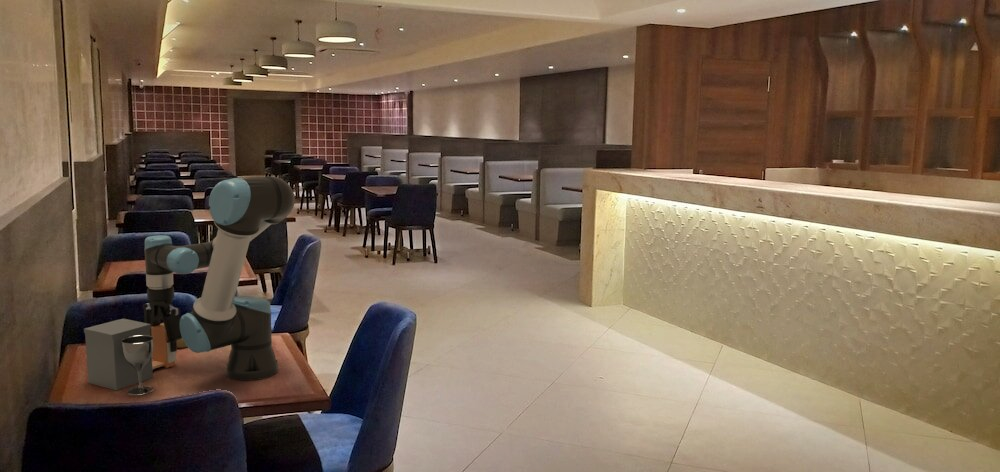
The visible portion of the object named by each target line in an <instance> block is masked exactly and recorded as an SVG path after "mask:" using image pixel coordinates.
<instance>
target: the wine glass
mask: <svg viewBox="0 0 1000 472" xmlns="http://www.w3.org/2000/svg"><path fill="white" fill-rule="evenodd" d="M122 351H123V355H124V358H125V360H126V361H127V362H128V363H129V364H130V365H131V366H132V367H134V369H135V370H136V372H137V375H138V383H137V384H138V385H137V386H135V387H131V388H130V389H128V390H127V391H126V394H127V395H129V396H143V395H147V394H150V393H152V392H154V391H155V388H154V387H153V386H150V385H142V384H143V383H142V382H143V381H142V382H141V377H142V370H143V368H144V366H145V365H146V364H147V363H148V361H149V360H150V359H151V357H152V353H153V337H152V336H149V335H136V336H130V337H127V338H124V339H122Z"/></svg>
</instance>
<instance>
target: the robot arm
mask: <svg viewBox="0 0 1000 472" xmlns="http://www.w3.org/2000/svg"><path fill="white" fill-rule="evenodd" d="M295 201H296V198H295V193H294V191H293V189H292V187H291V185H289V183H288V182H287V181H285V180H284V179H281V178H280V177H278V176H277V177H276V176H258V177H247V178H246V177H245V178H244V177H243V178H242V177H233V178H230V179H224V180H221V181H218V183H217V184H215V186H214V187H213V188H212V189H211V192H210V195H209V197H208V207H209V214H210V216H211V219H212V220H213V223H214V225H215V226H216V228H217V232H216V236H215V237H214V238H213V239H212V240H210V241H208V242H202V243H201V242H200V243H194V244H187V245H173V241H172V238H171V236H169V235H164V234H163V235H157V234H156V235H152V236H147V237H146V238H145V239H144V249H143V252H144V259H145V260H144V261H145V262H144V263H145V282H146V285H145V286H146V287H147V289H146V294H147V296H146V298H147V300H148V301H149V302H148V303H144V304H142V308H143V318H144V319H143V323H147V324H151V327H154V326H157V325H160V324H161V322H162V323H164V326H165V329H166V333H167V337H168V341H167V342H166V344H167V363H171V362H173V361H175V362H176V361H177V351H178V348H177V340H179V339H182V338H183V341H184V343H185V344H186V346H187V347H186V348H188V349H189V350H190V351H191V352H193V353H196V354H200V353H206V352H207V353H208V352H211V351H214V350H217V349H220V348H224V347H229V346H230V348H231V349H230V351H229V357H228V361H227V363H226V366H225V375H226V376H227V377H228V378H230V379H231V380H232V379H233V380H238V381H239V380H240V381H254V380H261V379H266V378H269V377H272V376H274V375H276V374H277V373H278V372H279V361H278V360H277V358H276V355H275V351H274V349H273V345H272V342H273V341H272V340H273V339H272V309H271V302H270V301H269V300H268V299H266V298H265V297H260V296H251V295H238V296H236V292H237V291H238V286H239V282H240V279H241V275H242V271H243V267H244V264H245V260H246V256H247V253H248V249H249V246H250V242H252V240H254V239H255V238H257V237H258V236H259V235H260V234H261V233H263V232H264V231H265V230H266V229H267V228H269V227H270V226H271V225H276V224H277V225H278V224H279V223H281V222H282V221H283V220H285V219H286V218H287V217H288V216H289V215H290V214H291V213H292V212H293V209H294V206H295ZM207 268H208V269H207ZM199 269H200V270H201V269H207V273H206V277H205V281H204V285H203V289H202V293H201V297H199V298H196V300H194V302H193V305H192V308H191V311H190V312H186V313H185V314H182V315H181V307H175V306H174V304H173V299H174V298H175V288H174V286H173V285H174V273H176V274H178V275H179V274H180V275H181V274H182V275H188V274H191V273H192V272H194V271H196V270H199ZM180 315H181V316H180ZM150 335H151V336H152V334H151V328H150ZM152 360H153V353H152Z"/></svg>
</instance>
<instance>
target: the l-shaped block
mask: <svg viewBox="0 0 1000 472" xmlns="http://www.w3.org/2000/svg"><path fill="white" fill-rule="evenodd" d="M151 334H152V337H153V359H152V365H153V369H152V370H155V369H159V368H160V367H162V368H166V369H167V368H170V367H173V366H176V361H173V362H171V363H167V344H166V342H167V341H168V337H167V333H166V329H165V326H164V325H157V326H154V327H151Z"/></svg>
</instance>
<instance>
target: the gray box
mask: <svg viewBox="0 0 1000 472" xmlns="http://www.w3.org/2000/svg"><path fill="white" fill-rule="evenodd" d="M150 328H151V324H147V323H144V321H143V322H142V321H137V320H132V319H127V318H121V319H116V320H111V321H108V322H104V323H101V324H95V325H92V326H90V327H85V328H83V333H84V336H85V350H86V351H85V353H86V354H85V355H86V367H87V381H88V382H87V383H88V384H91V385H95V386H99V387H103V388H106V389H110V390H115V391H119V390H122V389H125V388H127V387H130V386H133V385H136V384H139V383H138V375H137V372H136V370H135V369H134V367H132V366H131V365H130V364H129V363H128V362H127V361H126V360H125V358H124V355H123V351H122V339H124V338H127V337H130V336H136V335H149V336H151V335H150ZM152 361H153V359H152V357H151V359H150V360H149V361H148V363H147V364H146V365H145V366H144V368H143V370H142V377H141V382H144V381H148V380H150V379H152V378H154V375H153V373H154V372H153V370H154V369H153V365H152Z"/></svg>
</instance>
